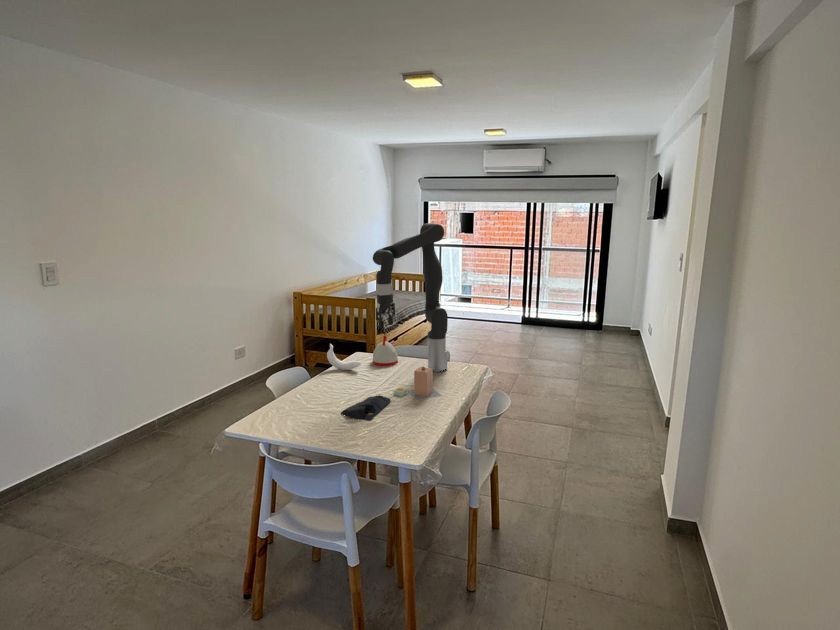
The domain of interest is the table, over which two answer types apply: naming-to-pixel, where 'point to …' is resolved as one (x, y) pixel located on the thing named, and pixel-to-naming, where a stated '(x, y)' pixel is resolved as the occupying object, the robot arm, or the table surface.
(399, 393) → the dish
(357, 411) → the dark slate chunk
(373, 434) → the table surface
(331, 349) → the banana
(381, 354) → the kitchen timer
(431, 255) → the robot arm
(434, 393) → the mat
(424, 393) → the tan rectangular block
